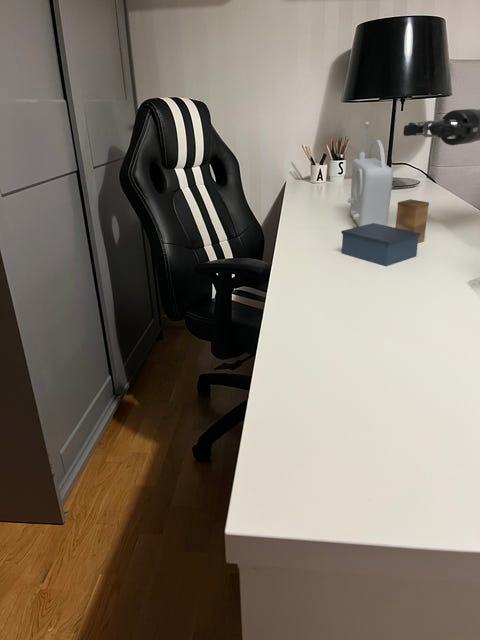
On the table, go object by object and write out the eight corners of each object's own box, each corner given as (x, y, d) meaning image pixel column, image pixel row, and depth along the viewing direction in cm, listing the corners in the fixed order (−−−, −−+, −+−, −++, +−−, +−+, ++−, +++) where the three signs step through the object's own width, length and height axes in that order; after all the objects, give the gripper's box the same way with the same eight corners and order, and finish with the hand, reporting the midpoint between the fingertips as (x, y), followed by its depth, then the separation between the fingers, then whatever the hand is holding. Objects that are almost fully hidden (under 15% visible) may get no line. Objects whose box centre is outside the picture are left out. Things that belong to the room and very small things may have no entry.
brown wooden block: (424, 241, 116) (429, 202, 112) (412, 245, 114) (416, 205, 110) (405, 237, 120) (410, 199, 116) (393, 240, 117) (397, 202, 114)
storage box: (417, 256, 106) (420, 233, 104) (386, 266, 100) (388, 242, 98) (371, 244, 115) (373, 222, 113) (340, 253, 110) (341, 230, 107)
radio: (343, 213, 144) (348, 120, 134) (372, 213, 144) (380, 120, 133) (355, 233, 124) (362, 125, 114) (389, 232, 124) (399, 124, 114)
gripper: (438, 109, 120) (396, 112, 111) (497, 109, 109) (454, 112, 100) (434, 142, 123) (392, 147, 114) (491, 145, 112) (449, 152, 103)
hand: (422, 131), depth 107 cm, fingers open, 8 cm apart
